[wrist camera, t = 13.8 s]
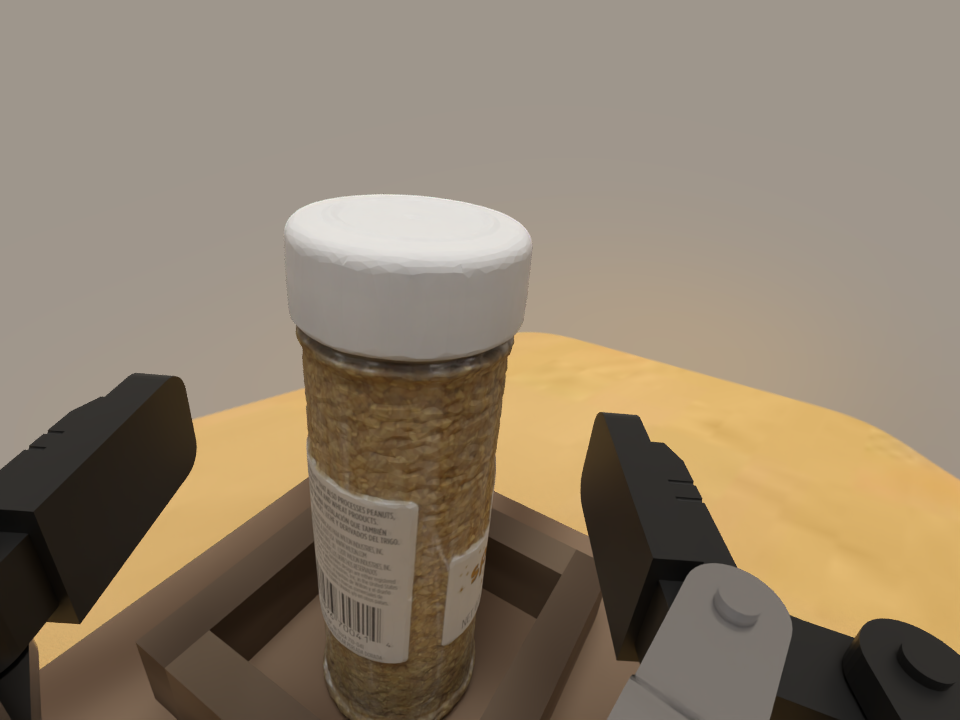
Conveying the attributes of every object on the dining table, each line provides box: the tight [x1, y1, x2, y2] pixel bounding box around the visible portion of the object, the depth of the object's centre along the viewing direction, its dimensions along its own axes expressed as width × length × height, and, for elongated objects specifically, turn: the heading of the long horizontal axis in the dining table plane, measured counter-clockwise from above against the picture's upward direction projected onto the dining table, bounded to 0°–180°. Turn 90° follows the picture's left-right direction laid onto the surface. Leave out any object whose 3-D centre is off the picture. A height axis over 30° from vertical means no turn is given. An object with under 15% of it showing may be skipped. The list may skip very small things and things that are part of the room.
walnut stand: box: [39, 477, 640, 720], centre depth 16 cm, size 16×16×4 cm
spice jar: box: [284, 194, 532, 720], centre depth 13 cm, size 5×5×13 cm
